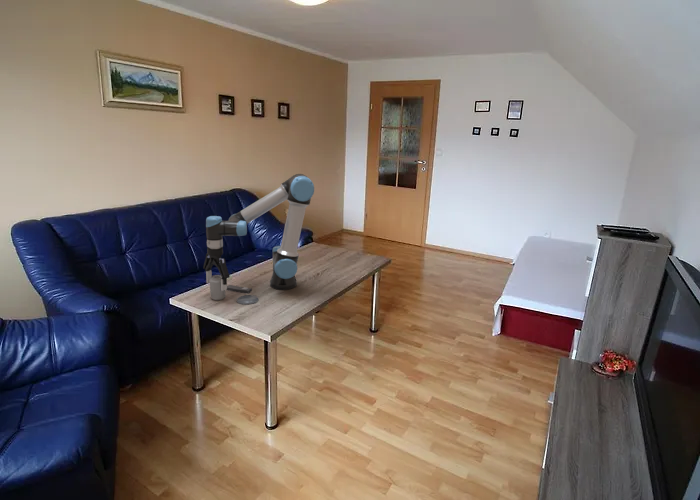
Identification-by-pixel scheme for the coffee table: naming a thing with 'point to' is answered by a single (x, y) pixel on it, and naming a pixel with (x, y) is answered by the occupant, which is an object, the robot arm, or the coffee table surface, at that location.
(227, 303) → the coffee table surface
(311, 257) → the coffee table surface
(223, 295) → the can
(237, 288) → the remote
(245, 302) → the coaster
